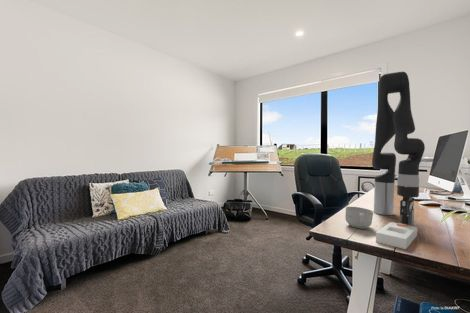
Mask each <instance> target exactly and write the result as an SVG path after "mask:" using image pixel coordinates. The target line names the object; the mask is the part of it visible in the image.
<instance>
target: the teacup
mask: <svg viewBox="0 0 470 313" xmlns="http://www.w3.org/2000/svg"><path fill="white" fill-rule="evenodd" d="M344 215H345V217H344V218H345V221H346V223H347V224H348V225H349V226H350V227H353V228H354V229H355V228H356V229H362V230H366V229H367V228H369V227H370V226H372V223H373V216H374V210H371V209H367V208H365V207H358V206H345V214H344Z"/></svg>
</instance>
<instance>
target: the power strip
mask: <svg viewBox="0 0 470 313" xmlns="http://www.w3.org/2000/svg"><path fill="white" fill-rule="evenodd" d="M417 237H418V226H415V225H414V226H409V225H407V224H402V223H400V222H394V221H389V223H387V224H386V225H385V226H382V228H380V229H379V230H377V231H376V232H375V242H376V243H379V244H384V245H386V246H387V245H388V246H391V247H394V248H399V249H402V250H406V249H408V247H409V246H410V245H411V244H412V243H413V241H414V240H415V239H416V238H417Z"/></svg>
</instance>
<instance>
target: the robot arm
mask: <svg viewBox="0 0 470 313" xmlns="http://www.w3.org/2000/svg"><path fill="white" fill-rule="evenodd" d="M408 75H409V74H407V72H406V71H396V72H390V73H389V72H388V73H384V74H381V75H380V77H379V80H378V86H377V87H378V90H377V94H378V95H377V111H376V112H377V114H376V122H375V136H374V138H375V139H374V146H373V152H372V159H371V165H372V168H373V169H374V170H375V169H376V170H387V171H386V172H385V173H382V174H379V175H375V176H374V189H373V190H374V194H373V214H374V213H375V214H378V215H382V216H393V215H394V214H395V213H394V212H395V211H394V208H395V181H396V180H395V178H396V165H397V156H396V154H395V153H394V152H382V150H383V148H384V147H385V146H386V144H388V143H389V142H390V141H391V139H392V138H394V144H393V147H394V150H395V151H396V153H397V154H400V155H404V156H405V155H407V158H406V159H403V160H401V161H399V162H398V171H397V172H398V175H397V181H396V182H397V186H396V187H397V188H396V190H397V191H396V195H397V196H400V197H402V199H401V200H400V201H399V203H400V204H399V211H400V212H399V216H400V215H401V216H402V222H401V223H402V224H407V225H408V217H409V212H411V209H414V210H415V198H419V196H420V176H419V175H420V164H421V161H422V159H423V156H424V153H425V148H426V146H425V142H424V141H423V140H422V139H420V138H414V137H413V138H412V137H408V135H411V134H413V133H414V132H415V130H416V127H415V126H416V125H415V121H414V118H413V114H412V107H411V90H410V80H409V76H408ZM398 93H399V95H400V96H399V98H400V99H399V102H398V104H397V106H396V108H395V110H394V109H393V108H392V107H391V105H390V103H389V98H388V96H389V95H390V94H398ZM404 211H406V213H404Z"/></svg>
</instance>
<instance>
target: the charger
mask: <svg viewBox="0 0 470 313" xmlns="http://www.w3.org/2000/svg"><path fill="white" fill-rule="evenodd" d="M404 213H406V211H404ZM401 222H402V216H401V215H400V214H399V223H401ZM414 224H415V208H414V209H411V212H409V217H408V225H409V226H414V227H415V225H414Z"/></svg>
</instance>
